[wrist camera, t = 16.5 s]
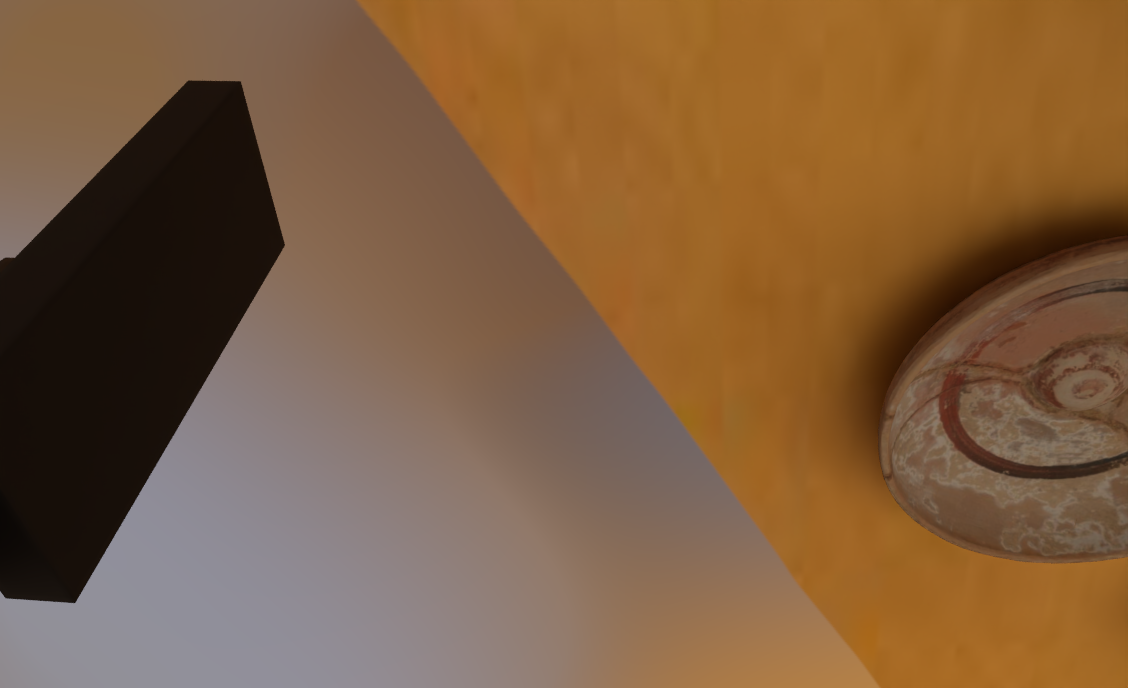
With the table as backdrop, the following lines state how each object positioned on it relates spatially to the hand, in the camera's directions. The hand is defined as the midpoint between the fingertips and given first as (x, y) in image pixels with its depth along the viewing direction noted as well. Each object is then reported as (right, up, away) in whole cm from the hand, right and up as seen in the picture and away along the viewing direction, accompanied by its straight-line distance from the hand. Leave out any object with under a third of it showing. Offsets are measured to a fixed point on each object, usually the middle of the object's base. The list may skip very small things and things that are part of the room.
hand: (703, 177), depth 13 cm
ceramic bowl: (+27, -4, +38) cm, 47 cm away
